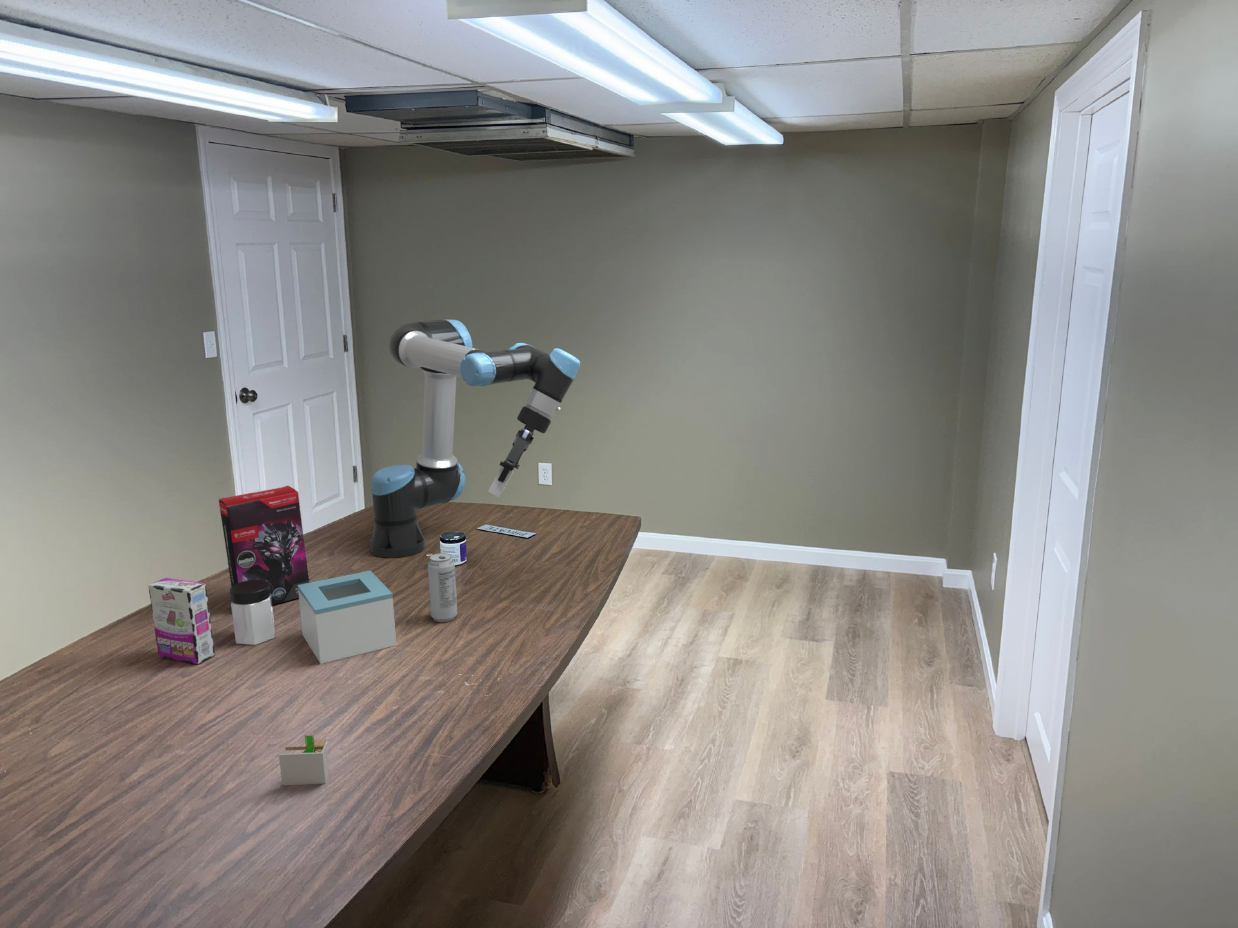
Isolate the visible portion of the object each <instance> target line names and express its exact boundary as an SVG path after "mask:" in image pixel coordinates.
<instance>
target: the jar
mask: <svg viewBox="0 0 1238 928" xmlns="http://www.w3.org/2000/svg"><path fill="white" fill-rule="evenodd" d="M229 594H230V601H231V603H230V607H231V608H230V609H231V615H232V622H233V631H234V638H235V639H234V640H235V644H237V645H250V646H256V645H259V644H262V643H265V642H267V641H271V640H272V639H274V638H275V632H276V631H275V630H276V629H275V620H274V619H275V618H274V609H273V605H272V601H271V589H270V584H269V582H267V581H264V580H249V581H244V582H240V583H237V584H235V585H233V586H232V587H231V586H230V588H229Z"/></svg>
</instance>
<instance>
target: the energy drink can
mask: <svg viewBox="0 0 1238 928" xmlns="http://www.w3.org/2000/svg"><path fill="white" fill-rule="evenodd" d="M455 566H456V562H455V561H454V559H453V558H452V554H450V553H445V552H443V553H442V552H441V553H440V552H439V553H435V554H432V555H431V556H429V561H428V563H427V573H428V574H427V575H428V588H429V604H430V617H432V618H433V620H434V621H435V622H436V623H437V622H438V623H448V622H451V621H453V620H454V619H455V618H456V616H457V615H458V599H457V583H456V580H457V579H456V567H455Z"/></svg>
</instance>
